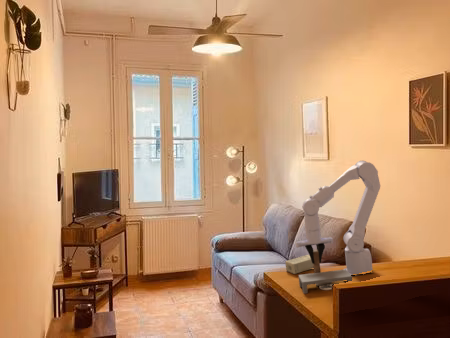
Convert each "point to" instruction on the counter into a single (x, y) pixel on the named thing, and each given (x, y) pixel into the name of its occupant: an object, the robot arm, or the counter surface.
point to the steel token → (325, 286)
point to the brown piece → (317, 264)
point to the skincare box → (299, 264)
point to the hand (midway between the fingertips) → (316, 262)
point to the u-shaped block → (323, 278)
